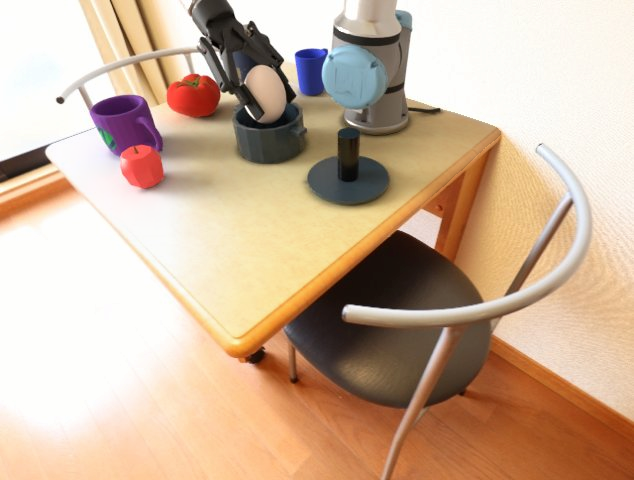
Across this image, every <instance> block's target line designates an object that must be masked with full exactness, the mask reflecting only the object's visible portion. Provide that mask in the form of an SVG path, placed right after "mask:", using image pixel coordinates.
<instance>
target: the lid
mask: <svg viewBox="0 0 634 480" xmlns="http://www.w3.org/2000/svg"><path fill="white" fill-rule="evenodd" d="M361 134H362V133H360V131H359V130H358V129H355V128H349V127H343V128H340V129H339V130H338V131H337V155H333V156H329V157H327V158H326V157H325V158H323V159H322V160H320V161H318V162H317V163H315V164H314V165H313V166H312V167H310V168H309V171H308V173H307V177H306V179H307V185H308V187H309V189H310V190H311V192H312V193H313V194H314V195H315V196H317V197H318V198H320V199H322V200H324V201H327V202H330V203H333V204H334V203H335V204H339V205H358V204H362V203H367V202H371V201H372V200H374V199H377V198H378V197H380V196H381V195H383V194H384V193H385V192H386V191H387V189H388V187H389V184H390V174H389V172H388V169H387V168H386V167H385V166H384V165H383V164H382V163H380V162H379V161H378V160H375V159H374V158H370V157H367V156H363V155H360V154H361V153H360V152H361Z"/></svg>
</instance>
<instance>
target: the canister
mask: <svg viewBox="0 0 634 480" xmlns="http://www.w3.org/2000/svg"><path fill="white" fill-rule="evenodd" d="M260 33H261V34H262V35H263V36H264V37H265V38H266V39H267V40H268V42H269V43H270V44H271V40H270V38H269V36H268V35H266V34H265V33H262V32H260ZM245 45H246V42H245V44H244V46H245ZM232 54H233V58H234V62H235V66H236V70H237V74H238V78H239V82H240V86H241V85H242V84H244V82H245V79H246V77H247V74H248V73H249V72H250V70H251V69H252V68H254V67H255V66H258V65H260V64H259V63H257V62H256V61H255V60H253V59H252V58H251V57H250V56H248V55H247V54H243V53H242V52H240V51H237V52H233V53H232ZM271 66H272V65H271ZM272 67H273V66H272Z"/></svg>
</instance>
